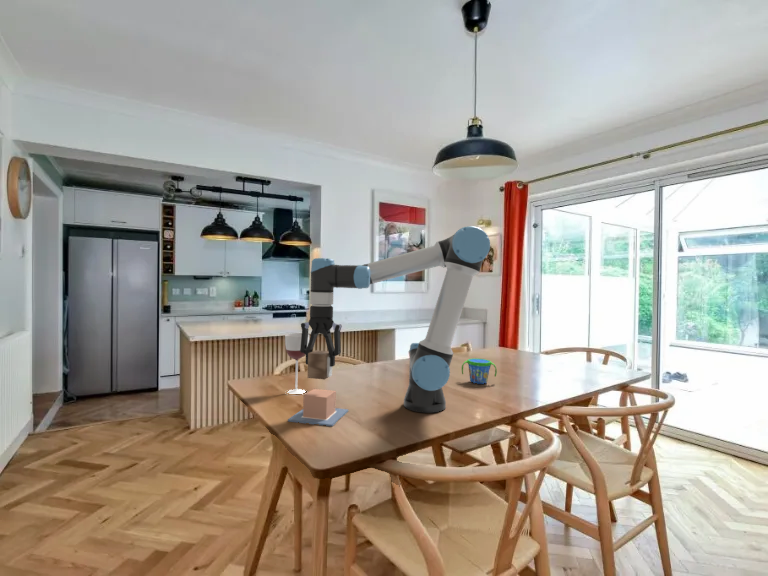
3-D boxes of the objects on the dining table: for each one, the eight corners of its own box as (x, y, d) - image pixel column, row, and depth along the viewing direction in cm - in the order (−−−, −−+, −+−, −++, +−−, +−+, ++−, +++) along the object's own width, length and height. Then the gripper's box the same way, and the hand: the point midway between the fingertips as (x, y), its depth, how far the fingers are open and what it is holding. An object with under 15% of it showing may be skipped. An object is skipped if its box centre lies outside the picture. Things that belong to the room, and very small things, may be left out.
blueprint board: (348, 411, 133) (348, 409, 133) (332, 426, 118) (332, 424, 118) (308, 406, 136) (308, 405, 136) (287, 421, 122) (287, 419, 122)
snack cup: (496, 381, 179) (496, 359, 179) (496, 387, 169) (497, 364, 169) (462, 378, 183) (462, 357, 183) (460, 383, 173) (460, 361, 173)
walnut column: (331, 375, 129) (332, 351, 129) (324, 379, 123) (325, 354, 123) (315, 373, 131) (315, 350, 130) (307, 377, 125) (308, 353, 125)
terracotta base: (335, 411, 130) (335, 390, 130) (326, 419, 122) (326, 397, 122) (313, 409, 132) (313, 388, 132) (303, 416, 124) (303, 395, 124)
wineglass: (313, 391, 156) (314, 334, 156) (295, 396, 148) (297, 337, 147) (296, 387, 161) (297, 332, 161) (278, 393, 152) (279, 335, 152)
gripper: (352, 305, 128) (350, 375, 128) (300, 303, 133) (298, 370, 133) (345, 307, 121) (343, 380, 121) (289, 304, 125) (288, 375, 126)
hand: (319, 375), depth 127 cm, fingers closed on walnut column, 6 cm apart
